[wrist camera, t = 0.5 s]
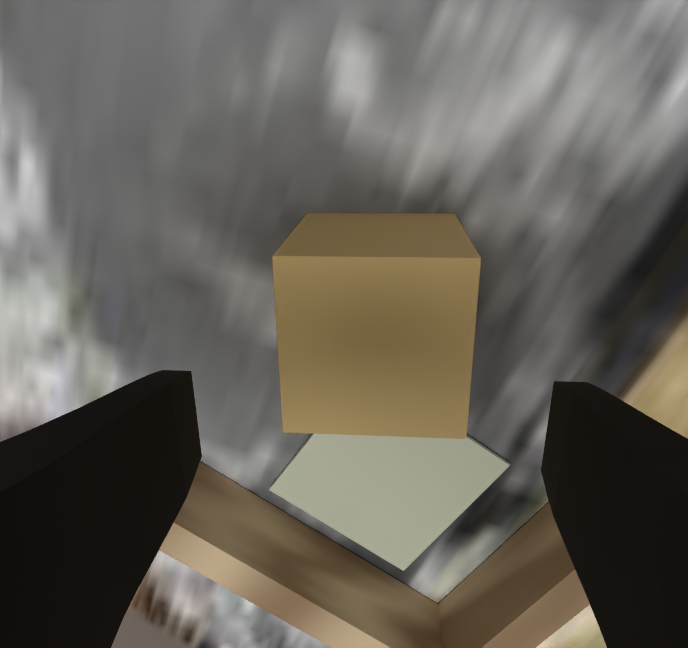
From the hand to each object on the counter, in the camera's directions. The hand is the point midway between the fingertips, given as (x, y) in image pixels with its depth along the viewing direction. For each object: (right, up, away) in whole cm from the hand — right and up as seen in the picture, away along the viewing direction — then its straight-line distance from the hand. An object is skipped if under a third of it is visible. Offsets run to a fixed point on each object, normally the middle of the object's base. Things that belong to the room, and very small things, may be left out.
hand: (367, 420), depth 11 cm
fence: (0, -4, +11) cm, 12 cm away
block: (+1, +3, +9) cm, 9 cm away
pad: (+1, -4, +12) cm, 12 cm away
